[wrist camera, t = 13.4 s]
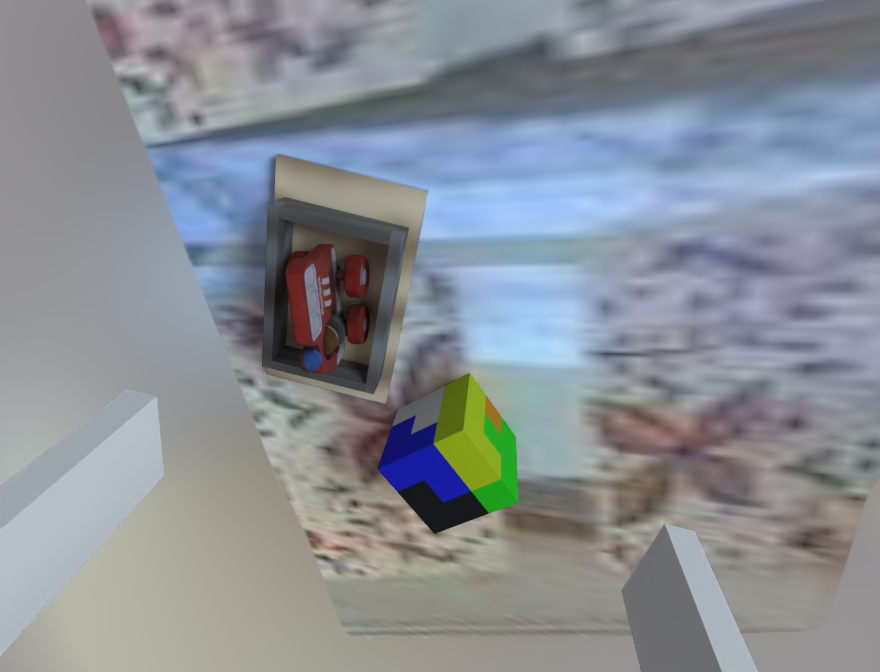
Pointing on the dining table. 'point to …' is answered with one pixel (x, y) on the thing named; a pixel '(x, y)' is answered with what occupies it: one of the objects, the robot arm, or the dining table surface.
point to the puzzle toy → (452, 456)
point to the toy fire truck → (325, 305)
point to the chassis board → (342, 266)
